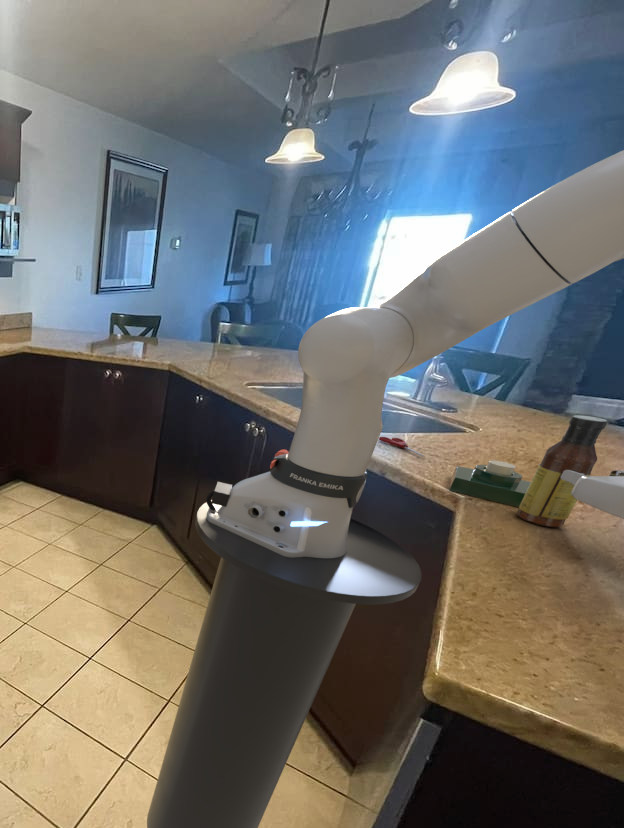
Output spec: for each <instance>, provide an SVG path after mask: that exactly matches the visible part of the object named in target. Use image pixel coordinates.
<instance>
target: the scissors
mask: <svg viewBox="0 0 624 828" xmlns="http://www.w3.org/2000/svg"><path fill="white" fill-rule="evenodd" d="M378 441H381V442H383V443H386V444H389V445H392V446H396V447H398V448H401V449H405V450H407V451H410V452H412V453H414V454H416V455H418V456H420V457H424V455H423V454H422V453H420V452H418V451H416V450H414V449H412V448H410V447H409V445H408V444H407V442H406V441H405V440H404V439H402V438H400V437H392V438H390V437H387V436H379V439H378Z"/></svg>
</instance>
